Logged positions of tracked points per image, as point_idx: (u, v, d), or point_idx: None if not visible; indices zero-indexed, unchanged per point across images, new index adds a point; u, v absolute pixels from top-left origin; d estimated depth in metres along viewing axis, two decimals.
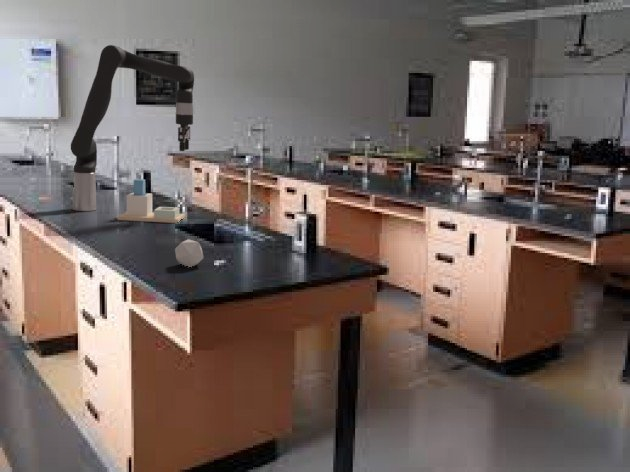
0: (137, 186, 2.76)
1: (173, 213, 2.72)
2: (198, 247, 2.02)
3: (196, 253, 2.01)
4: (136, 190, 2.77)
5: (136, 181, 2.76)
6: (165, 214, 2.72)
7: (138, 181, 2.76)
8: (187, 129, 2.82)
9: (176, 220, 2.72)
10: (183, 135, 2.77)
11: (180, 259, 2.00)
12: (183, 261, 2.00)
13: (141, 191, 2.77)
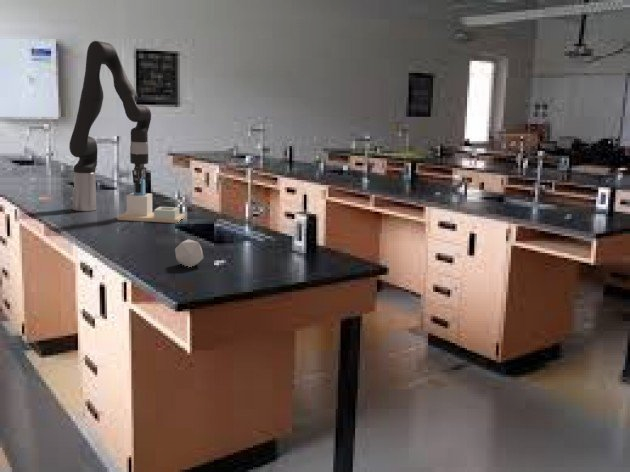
0: None
1: (173, 213, 2.72)
2: (198, 247, 2.02)
3: (196, 253, 2.01)
4: None
5: None
6: (165, 214, 2.72)
7: None
8: (142, 169, 2.75)
9: (176, 220, 2.72)
10: (138, 178, 2.72)
11: (180, 259, 2.00)
12: (183, 261, 2.00)
13: (141, 191, 2.77)
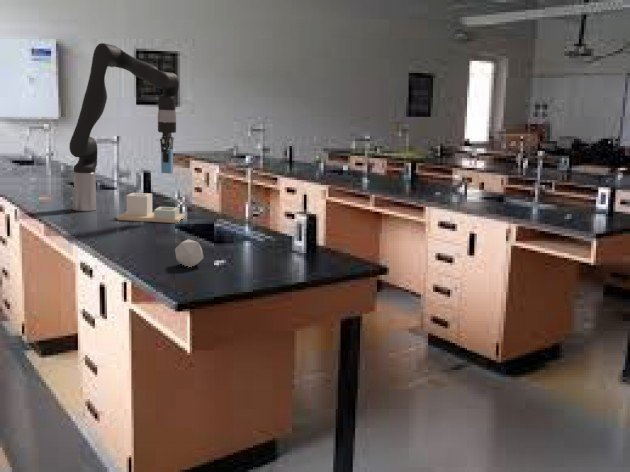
0: None
1: (173, 213, 2.72)
2: (198, 247, 2.02)
3: (196, 253, 2.01)
4: None
5: None
6: (165, 214, 2.72)
7: None
8: (170, 138, 2.68)
9: (176, 220, 2.72)
10: (166, 147, 2.65)
11: (180, 259, 2.00)
12: (183, 261, 2.00)
13: (169, 161, 2.70)
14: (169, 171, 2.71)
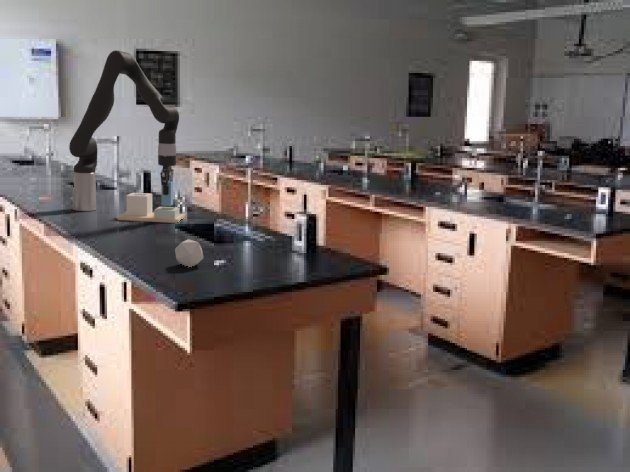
0: None
1: (173, 213, 2.72)
2: (198, 247, 2.02)
3: (196, 253, 2.01)
4: None
5: None
6: (165, 214, 2.72)
7: None
8: (170, 171, 2.71)
9: (176, 220, 2.72)
10: (166, 180, 2.68)
11: (180, 259, 2.00)
12: (183, 261, 2.00)
13: (169, 193, 2.73)
14: (169, 203, 2.73)
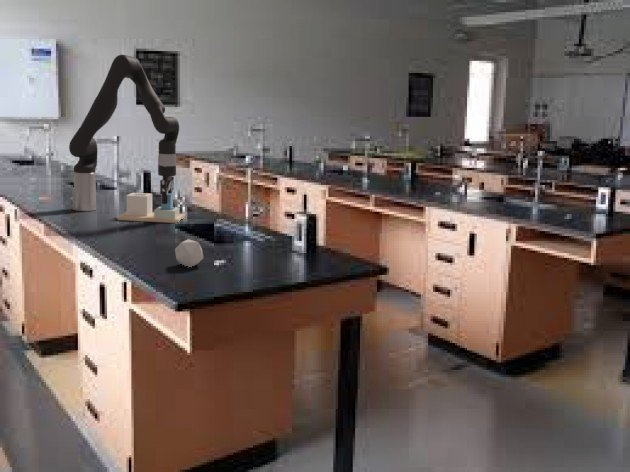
0: None
1: (173, 213, 2.72)
2: (198, 247, 2.02)
3: (196, 253, 2.01)
4: (164, 204, 2.74)
5: None
6: (165, 214, 2.72)
7: None
8: (170, 181, 2.72)
9: (176, 220, 2.72)
10: (165, 188, 2.67)
11: (180, 259, 2.00)
12: (183, 261, 2.00)
13: (169, 205, 2.74)
14: None
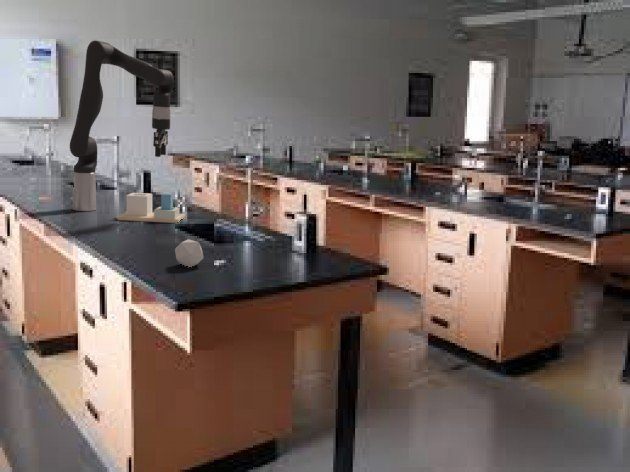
0: (164, 200, 2.73)
1: (173, 213, 2.72)
2: (198, 247, 2.02)
3: (196, 253, 2.01)
4: (164, 204, 2.74)
5: (164, 195, 2.73)
6: (165, 214, 2.72)
7: (166, 195, 2.73)
8: (164, 134, 2.71)
9: (176, 220, 2.72)
10: (159, 140, 2.67)
11: (180, 259, 2.00)
12: (183, 261, 2.00)
13: (169, 205, 2.74)
14: None
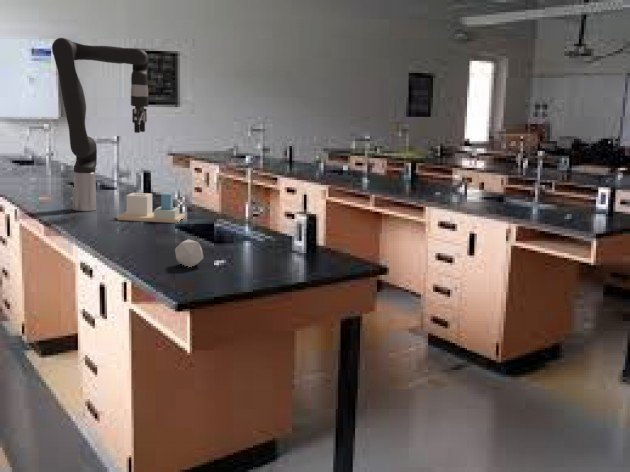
0: (164, 200, 2.73)
1: (173, 213, 2.72)
2: (198, 247, 2.02)
3: (196, 253, 2.01)
4: (164, 204, 2.74)
5: (164, 195, 2.73)
6: (165, 214, 2.72)
7: (166, 195, 2.73)
8: (142, 111, 2.85)
9: (176, 220, 2.72)
10: (137, 116, 2.80)
11: (180, 259, 2.00)
12: (183, 261, 2.00)
13: (169, 205, 2.74)
14: None
